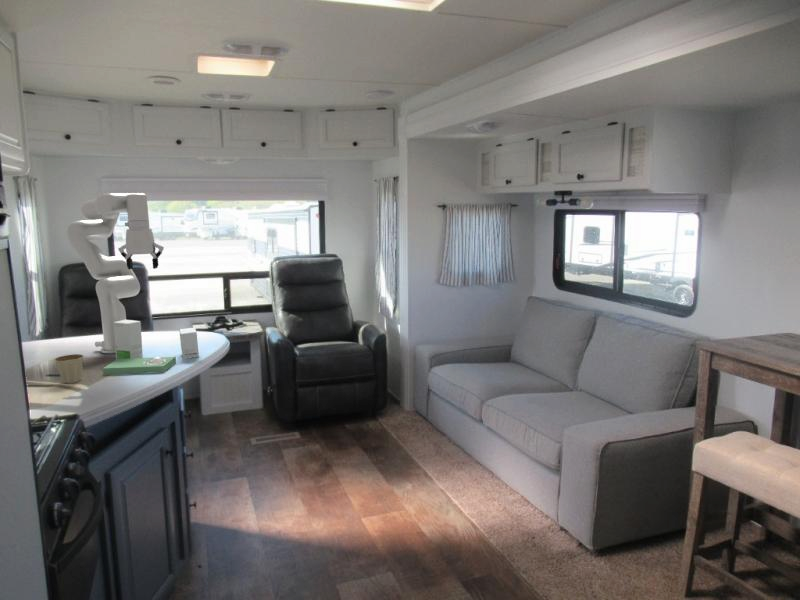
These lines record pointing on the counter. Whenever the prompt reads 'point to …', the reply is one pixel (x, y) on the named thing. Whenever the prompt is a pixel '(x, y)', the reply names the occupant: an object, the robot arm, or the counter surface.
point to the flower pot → (70, 367)
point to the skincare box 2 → (189, 342)
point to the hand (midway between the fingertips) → (143, 268)
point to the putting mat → (138, 365)
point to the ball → (157, 360)
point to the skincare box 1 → (128, 339)
